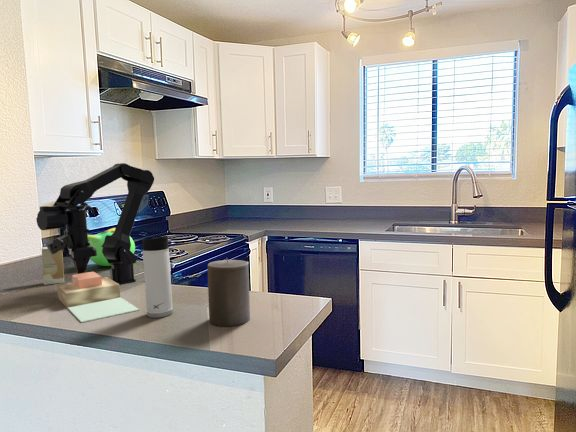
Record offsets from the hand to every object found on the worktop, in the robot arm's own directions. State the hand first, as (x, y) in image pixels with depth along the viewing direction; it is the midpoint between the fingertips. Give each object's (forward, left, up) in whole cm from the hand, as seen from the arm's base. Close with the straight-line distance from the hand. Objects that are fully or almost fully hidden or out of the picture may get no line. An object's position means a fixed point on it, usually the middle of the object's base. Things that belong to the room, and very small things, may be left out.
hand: (80, 277), depth 136 cm
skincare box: (+4, -21, -5) cm, 22 cm away
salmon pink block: (0, +8, 0) cm, 8 cm away
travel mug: (-10, +38, -5) cm, 40 cm away
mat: (0, +23, -5) cm, 24 cm away
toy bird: (-19, -36, -5) cm, 41 cm away
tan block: (0, +9, -5) cm, 10 cm away
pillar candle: (-21, +54, -5) cm, 58 cm away
